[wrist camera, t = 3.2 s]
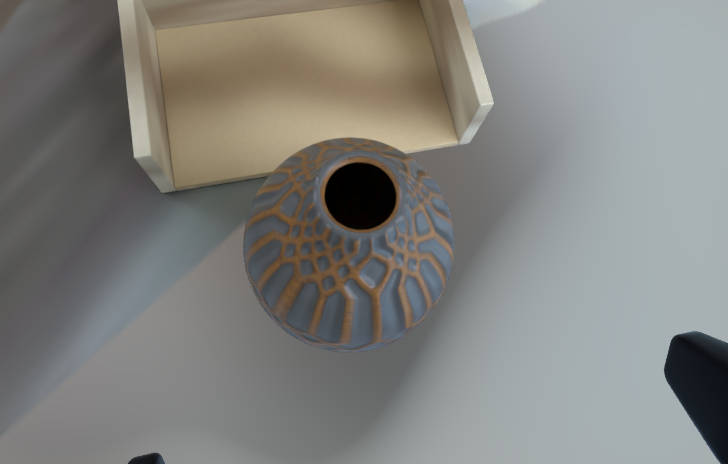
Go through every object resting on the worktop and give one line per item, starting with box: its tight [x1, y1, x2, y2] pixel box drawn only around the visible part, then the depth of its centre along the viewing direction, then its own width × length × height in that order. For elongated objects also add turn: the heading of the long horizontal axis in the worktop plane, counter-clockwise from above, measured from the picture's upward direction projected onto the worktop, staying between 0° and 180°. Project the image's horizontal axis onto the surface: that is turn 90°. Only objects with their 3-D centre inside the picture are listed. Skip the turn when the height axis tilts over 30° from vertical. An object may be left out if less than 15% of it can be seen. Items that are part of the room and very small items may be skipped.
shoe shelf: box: [117, 0, 494, 193], centre depth 21 cm, size 8×13×5 cm, turn 102°
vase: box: [243, 137, 454, 352], centre depth 17 cm, size 7×7×9 cm
